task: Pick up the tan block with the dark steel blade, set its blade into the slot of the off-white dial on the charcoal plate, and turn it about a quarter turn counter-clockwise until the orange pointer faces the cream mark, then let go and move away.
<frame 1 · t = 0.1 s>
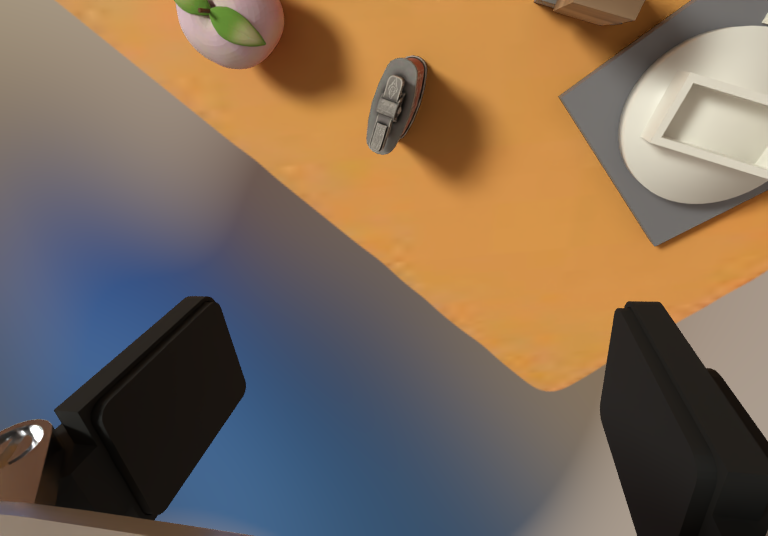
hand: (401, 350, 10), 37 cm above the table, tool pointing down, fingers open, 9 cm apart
lighter: (404, 98, 43), on the table
dial plate: (698, 116, 38), on the table
dial: (719, 123, 35), point 4 cm above the table, hinge at 0.0°
decorative fruit: (257, 20, 42), on the table
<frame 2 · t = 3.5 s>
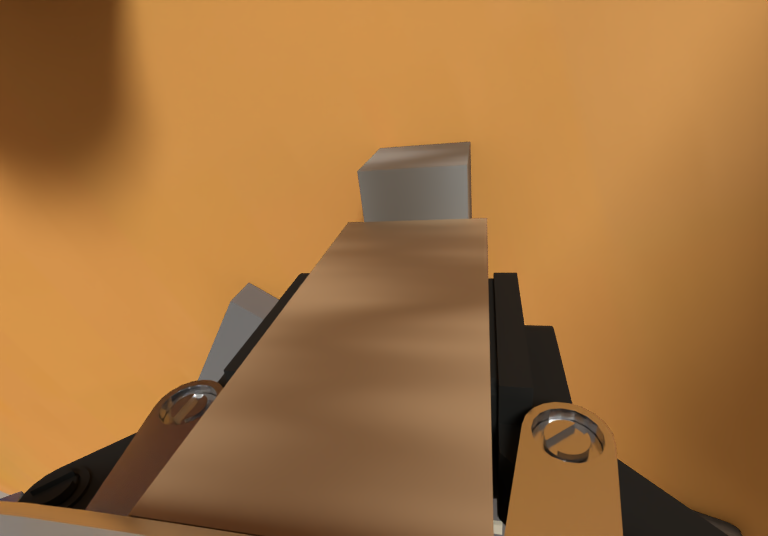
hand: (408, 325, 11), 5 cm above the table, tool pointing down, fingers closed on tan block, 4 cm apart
tan block: (430, 241, 16), on the table, touching gripper
dial plate: (334, 477, 23), on the table
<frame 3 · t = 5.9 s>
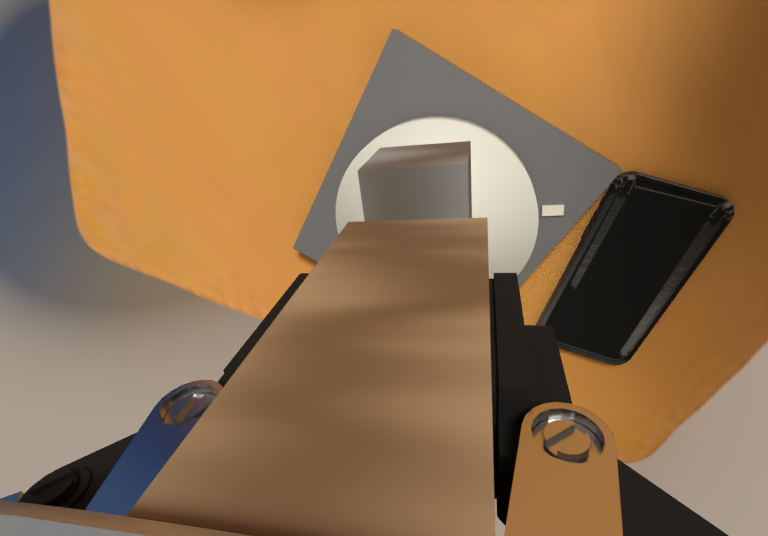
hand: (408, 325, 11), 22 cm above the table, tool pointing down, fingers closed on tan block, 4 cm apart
tan block: (430, 241, 16), point 17 cm above the table, touching gripper
dial plate: (437, 207, 33), on the table
dial: (431, 227, 29), point 4 cm above the table, hinge at 0.0°
phone: (617, 272, 32), on the table
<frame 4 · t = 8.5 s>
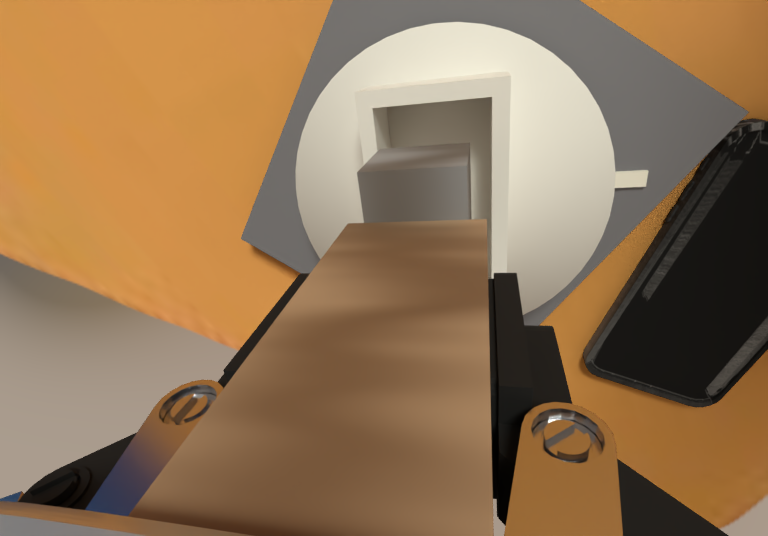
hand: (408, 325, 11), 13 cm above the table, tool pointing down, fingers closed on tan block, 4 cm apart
tan block: (430, 242, 16), point 8 cm above the table, touching gripper
dial plate: (448, 178, 22), on the table
dial: (442, 203, 19), point 4 cm above the table, hinge at 0.0°
phone: (710, 275, 22), on the table
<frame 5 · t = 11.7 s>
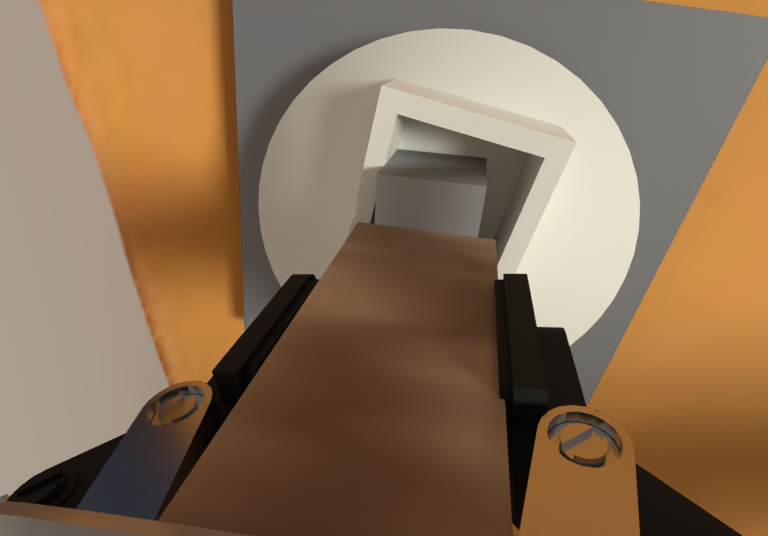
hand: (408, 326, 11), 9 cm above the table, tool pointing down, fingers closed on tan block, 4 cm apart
tan block: (429, 247, 16), point 4 cm above the table, touching dial, gripper
dial plate: (440, 208, 19), on the table
dial: (431, 243, 16), point 4 cm above the table, hinge at 48.9°, touching tan block
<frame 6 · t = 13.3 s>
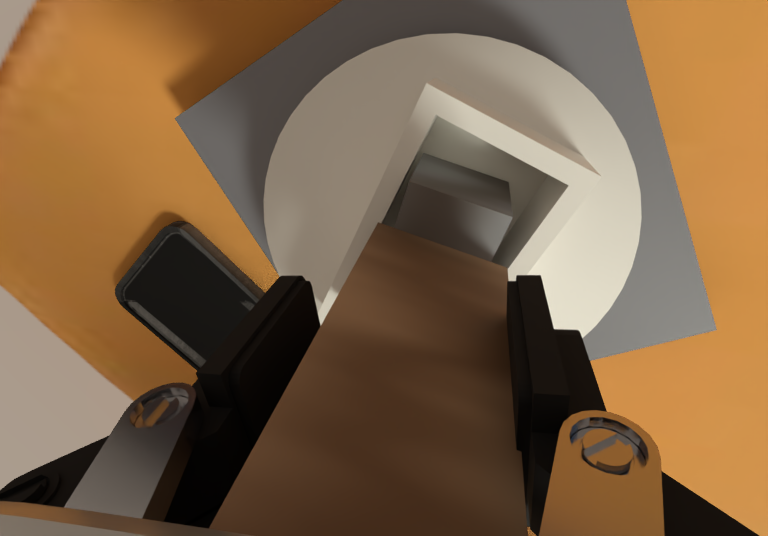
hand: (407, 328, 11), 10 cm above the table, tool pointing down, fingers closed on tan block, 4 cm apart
tan block: (431, 253, 16), point 4 cm above the table, touching dial, gripper
dial plate: (443, 210, 19), on the table
dial: (434, 245, 16), point 4 cm above the table, hinge at 91.7°, touching tan block
phone: (249, 335, 26), on the table
when the fingers open (10 cm above the table, at t = 14.1 s): tan block stays where it is, resting on dial.
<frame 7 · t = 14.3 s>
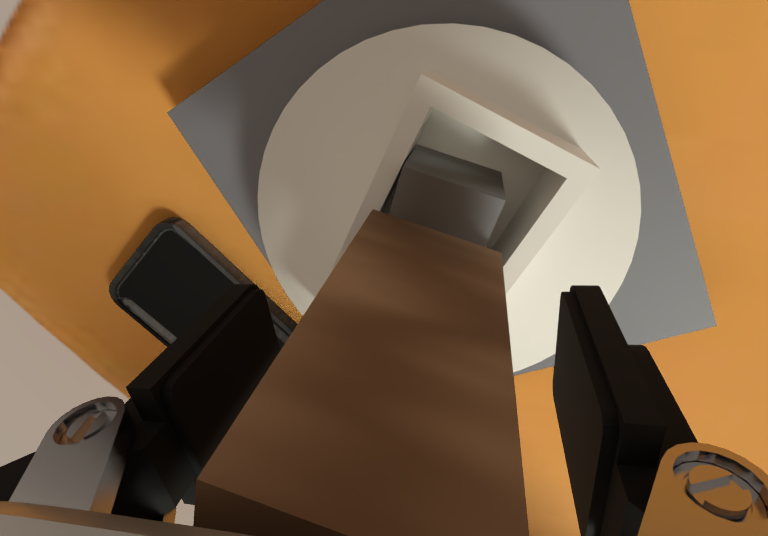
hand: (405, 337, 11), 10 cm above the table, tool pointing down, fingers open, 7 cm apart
tan block: (426, 246, 16), point 4 cm above the table, touching dial
dial plate: (440, 205, 19), on the table
dial: (431, 240, 16), point 4 cm above the table, hinge at 91.8°, touching tan block
phone: (245, 332, 26), on the table
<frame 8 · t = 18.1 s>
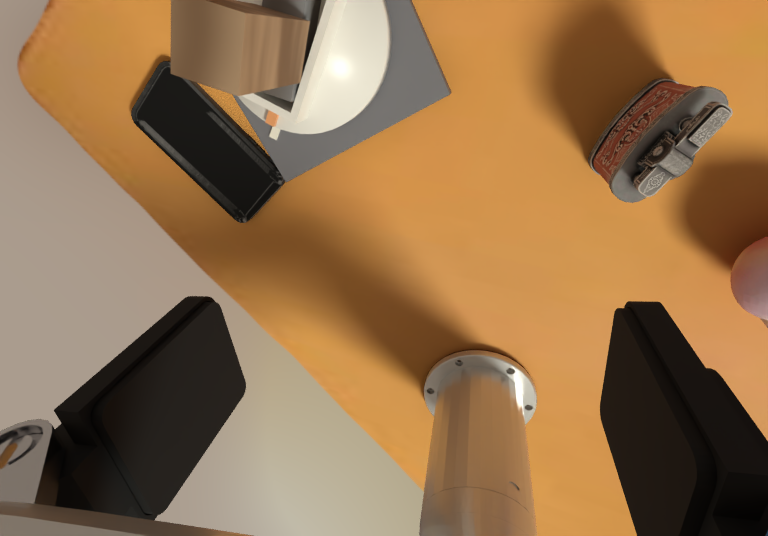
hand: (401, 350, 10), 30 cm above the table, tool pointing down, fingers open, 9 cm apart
tan block: (294, 44, 32), point 4 cm above the table, touching dial
lighter: (630, 128, 34), on the table
dial plate: (313, 39, 35), on the table
dial: (295, 39, 32), point 4 cm above the table, hinge at 91.8°, touching tan block
decorative fruit: (767, 253, 36), on the table
phone: (214, 145, 42), on the table
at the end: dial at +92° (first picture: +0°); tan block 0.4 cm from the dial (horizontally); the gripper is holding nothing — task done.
